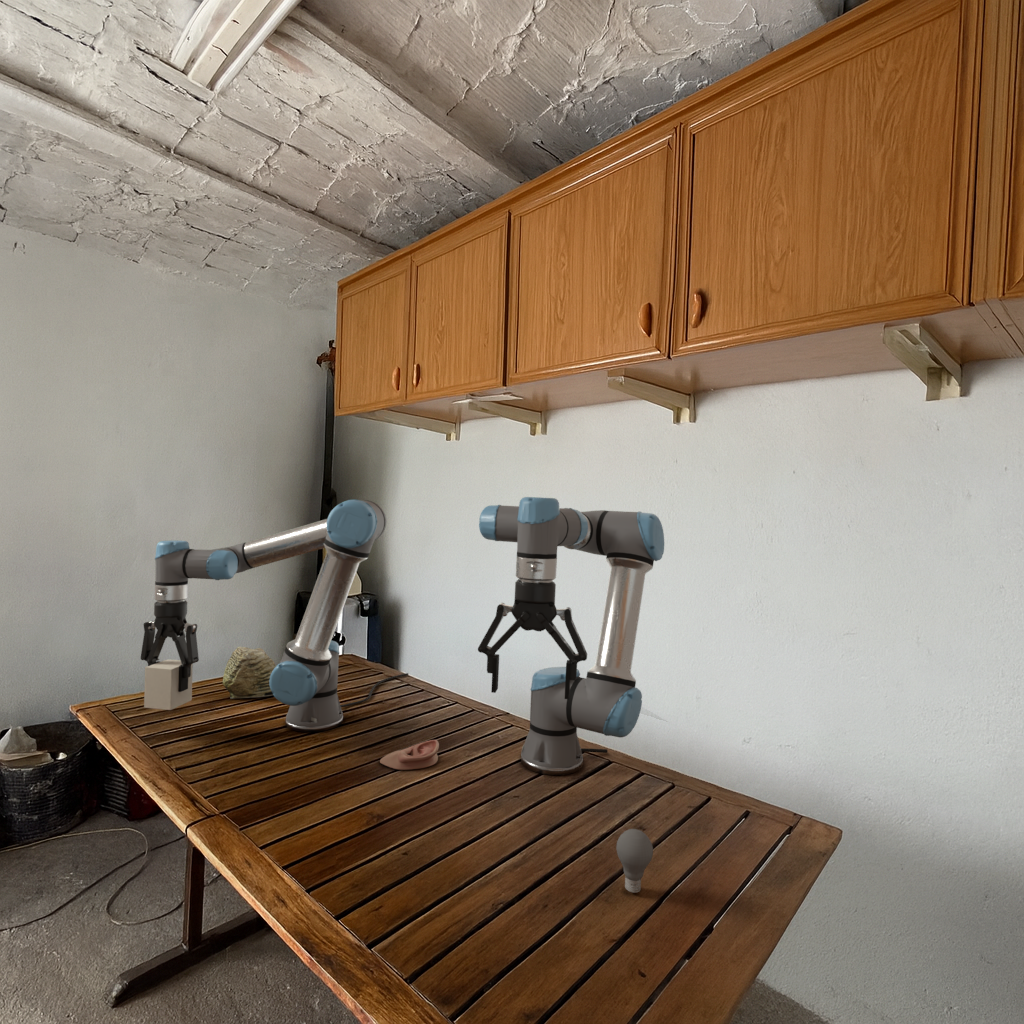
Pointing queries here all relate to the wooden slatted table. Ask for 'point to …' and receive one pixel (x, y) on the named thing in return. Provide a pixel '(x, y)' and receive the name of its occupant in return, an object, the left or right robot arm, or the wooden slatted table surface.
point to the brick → (165, 686)
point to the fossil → (248, 673)
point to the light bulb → (634, 857)
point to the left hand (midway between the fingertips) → (168, 688)
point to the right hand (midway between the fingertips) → (530, 693)
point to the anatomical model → (413, 756)
